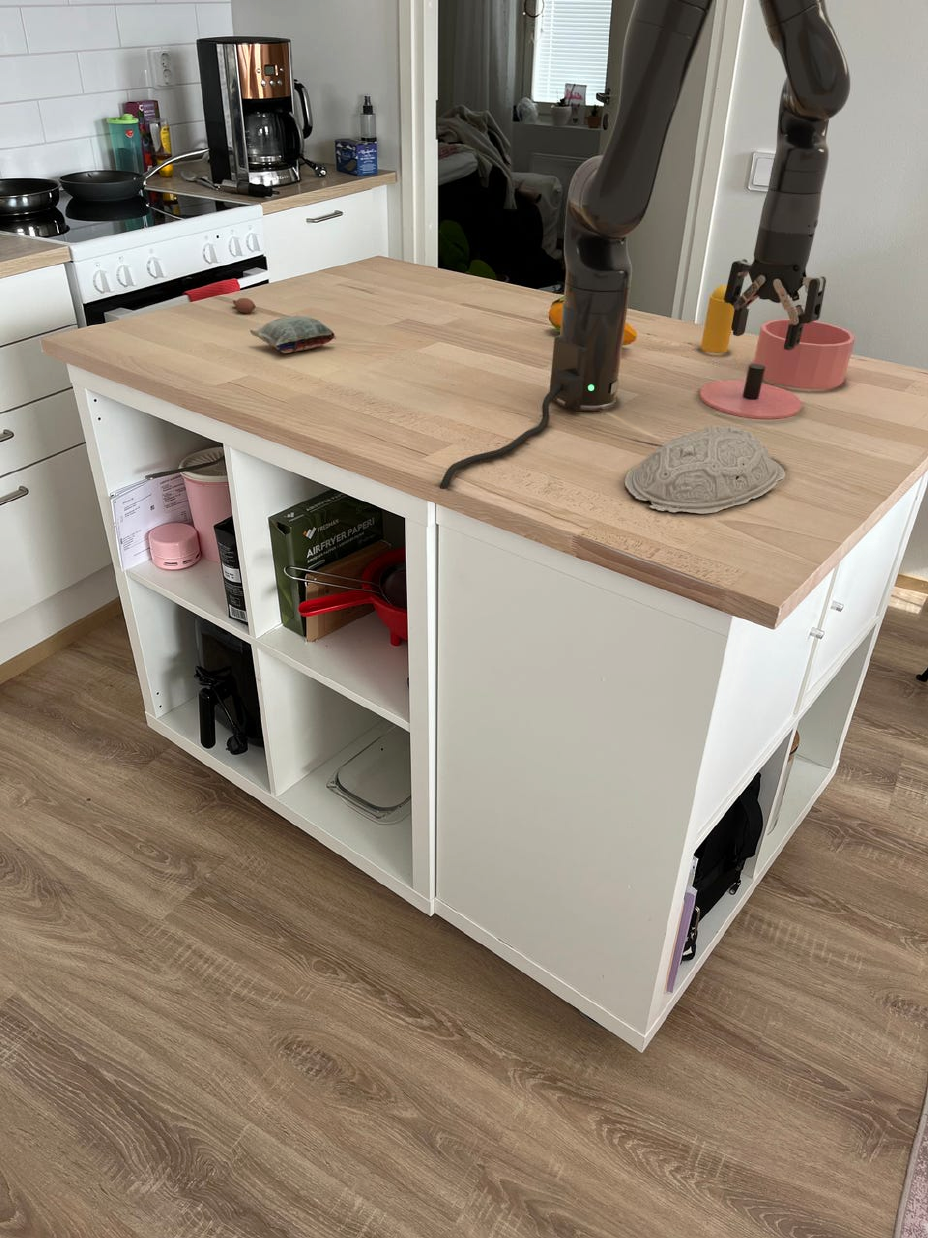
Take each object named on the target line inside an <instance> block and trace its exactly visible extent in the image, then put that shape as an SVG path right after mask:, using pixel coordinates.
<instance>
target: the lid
mask: <svg viewBox="0 0 928 1238" xmlns="http://www.w3.org/2000/svg"><path fill="white" fill-rule="evenodd" d="M764 372H765V366H763V365H760V364H753V363H750V364H749V365H748V369H747V372H746V378H745V380H741V379H732V380H731V379H728V380H718V381H712V382H709V383H707V384H705V385H703V386H702V387H701V388H700V390H699V398H700V399H701V401H702V402H703V403H705V404H706V405H707V406H709V407H711V408H713V409H715V410H716V411H720V412H723V413H726V414H729V415H734V416H737V417H743V418H749V419H760V420H761V419H762V420H763V419H764V420H774V419H782V418H784V419H785V418H788V417H792V416H794V415H797V414H799V412H800V411H801V410H802V405H803V403H802V400H801V399H800V398H799V397H798V396H797V395H796V394H795V393H793V392H791V391H789V390H787V389H784V388H782V387H780V386H776V385H771V384H769V383H764V382H763V380H764V379H763V376H764Z"/></svg>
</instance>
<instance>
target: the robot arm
mask: <svg viewBox="0 0 928 1238" xmlns="http://www.w3.org/2000/svg"><path fill="white" fill-rule="evenodd" d="M715 2H716V0H635V1H634V5H633V8H632V11H631V15H630V17H629V21H628V24H627V28H626V32H625V37H624V42H623V48H622V57H621V58H622V60H621V67H620V70H621V71H620V84H619V85H620V86H619V100H618V107H617V111H616V116H615V119H614V124H613V127H612V130H611V133H610V136H609V139H608V142H607V145H606V147H605V150H604V153H603V155H596V156H593V157H591V158H589V159H586V161H584V162H583V163H582V164H581V165H579V167H578V168H577V170H575V173H574V174H573V176H572V178H571V181H570V184H569V188H568V192H567V199H566V207H565V208H566V209H565V221H564V222H565V224H564V239H563V259H564V264H565V279H564V280H565V281H564V291H563V296H564V300H563V310H562V320H561V331H560V332H559V335H556V336H555V337H554V339H553V349H552V358H551V370H550V371H551V373H550V382H549V392H548V393H547V394H546V395H545V396H544V399H543V401H542V404H541V412H542V413H541V414H542V417H541V418H542V419H541V420H540V423H539V424H538V425H537V426H535V427H532V428H529V429H528V430H526V431H525V432H523V433H521V435H520V436H518V437H517V438H516V439H515V440H513V441H512V442H510V443H508V444H507V445H504V446H502V447H500V448H498V449H494V450H491V451H487V452H486V451H485V452H482V453H478V454H474V455H471V456H468V457H465V458H463V459H461V460H459V461H457V462H455V463H452V464H451V465H450V466H449V467H448V468H447V469H446V471H445V473H444V475H443V476H442V480H441V482H440V484H439V490H440V489H441V490H446V489H448V488H449V486H450V484H451V481H452V479H453V477H454V475H455V474H456V472H458V471H460V470H462V469H465V468H467V467H469V466H472V465H474V464H477V463H481V462H485V461H489V460H493V459H496V458H499V457H502V456H505V455H507V454H509V453H511V452H513V451H515V450H516V449H517V448H519V447H520V446H522V444H524V443H525V442H526V441H528V440H529V439H530V438H532V437H534V436H537V435H539V434H541V433H542V432H544V430H545V429H546V428H547V427H548V424H549V421H550V404H551V402H554V403H556V404H559V406H562V407H564V408H565V409H568V410H570V411H572V412H578V411H584V412H585V411H586V412H594V411H595V412H598V411H604V410H605V408H608V407H611V406H613V405H614V404H616V401H617V392H618V391H619V385H620V379H619V376H620V375H619V374H620V368H621V359H622V352H623V346H624V345H623V338H624V330H625V323H627V322H626V321H627V316H628V315H627V314H628V307H629V299H630V292H631V285H632V279H633V278H632V276H633V266H632V265H633V264H632V261H631V259H630V255H629V249H628V235H631V233H633V232H634V231H635V230H636V229H637V228H638V227H639V226H640V224H642V222H643V220H644V219H645V217H646V215H647V213H648V211H649V209H650V205H651V201H652V198H653V194H654V191H655V186H656V184H657V183H656V182H657V178H658V174H659V170H660V166H661V163H662V158H663V154H664V150H665V146H666V142H667V139H668V136H669V132H670V129H671V126H672V123H673V121H674V118H675V115H676V112H677V110H678V107H679V104H680V101H681V99H682V96H683V93H684V90H685V87H686V84H687V81H688V78H689V75H690V73H691V69H692V67H693V64H694V61H695V58H696V56H697V53H698V52H699V49H700V46H701V43H702V40H703V37H704V34H705V32H706V28H707V26H708V22H709V20H710V16H711V14H712V11H713V8H714V4H715ZM758 3H759V7H760V11H761V13H762V17H763V20H764V21H763V22H764V23H765V24H764V25H765V27H766V31H767V33H768V36H769V38H770V41H771V43H772V45H773V47H774V48H775V49H776V50H777V51H778V52H779V55H780V57H781V60H782V61H781V62H782V64H783V67H784V71H785V74H786V77H785V79H784V82H783V85H782V90H781V93H780V97H779V98H780V99H779V106H778V115H777V117H778V118H777V131H776V149H775V154H774V158H773V161H772V167H771V170H770V171H771V172H770V176H769V177H770V178H769V182H768V188H767V192H766V195H765V198H764V200H763V205H762V209H761V215H760V219H759V224H758V228H757V229H758V230H757V235H756V240H755V246H754V250H753V261H752V263H750V262H748V260H747V259H746V258H743V259H740V260H735V261H733V262H732V263H731V266H730V271H729V274H728V278H727V282H726V285H727V287H726V292H725V296H724V301H725V302H726V303H730V304H731V305H732V306H733V307H734V315H733V321H732V326H731V328H732V329H731V332H732V335H733V336H735V337H740V336H743V335H744V334H745V332H746V328H747V324H748V323H747V322H748V317H749V313H750V309H749V308H748V307H750V305H751V304H752V303H754V301H755V300H756V299H759V300H763V301H764V300H765V301H766V300H769V301H770V302H772V303H775V304H781V306H782V308H783V310H784V311H785V312H786V313H787V315H788V319H790V321H791V324H789V325H788V330H787V334H786V339H785V344H784V349H785V350H788V351H789V350H792V349H794V348H795V346H798V344H799V343H800V338H801V335H802V330H803V326H804V324H805V323H810V322H813V321H818V320H820V317H821V312H822V307H823V301H824V295H825V289H826V284H827V278H826V277H825V276H818V277H817V276H816V277H815V276H808V275H807V265H808V263H809V260H810V257H811V251H812V247H813V242H814V238H815V234H816V229H817V226H818V224H819V223H818V222H819V215H820V209H821V200H822V193H823V192H822V191H823V188H824V183H825V179H826V174H827V170H828V165H829V159H830V150H829V146H828V143H827V135H828V131H829V130H828V129H829V123H830V120H831V119H833V118H834V117H835V116H837V115H838V114H839V113H840V112H841V111H842V109H843V108H844V107H845V105H846V104H847V101H848V99H849V96H850V93H851V75H850V70H849V65H848V62H847V59H846V57H845V53H844V51H843V48H842V46H841V44H840V41H839V38H838V35H837V33H836V30H835V29H834V26H833V25H832V22H831V20H830V17H829V14H828V10H827V4H826V0H758ZM748 275H749V278H750V280H751V284H750V285H749V286H748V287H747V288H746V289H745V290H744V291H743V292H742V290H743V286H744V282H745V278H746V277H747V276H748ZM803 286H804V291H805V293H806V294H807V295H806V300H805V301H806V302H805V306H804V299H803V297H802V294H801V291H800V289H802V287H803Z"/></svg>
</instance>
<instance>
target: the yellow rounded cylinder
mask: <svg viewBox="0 0 928 1238" xmlns="http://www.w3.org/2000/svg"><path fill="white" fill-rule="evenodd" d="M726 287H727V284H722V285H720V286H717V287H716V288H715V289H714V290H713V291H712V294H711V295H709V299H708V305H707V311H706V316H705V322H704V327H703V334H702V339H701V344H700V349H701V350H702V351H704V352H707V353H710V354H711V353H712V354H724V353H727V352H728V348H729V344H730V339H731V333H732V328H731V326H732V321H733V315H734V307H733V306H732V305H731V304H730V303H726V302H725V301H724V296H725V292H726Z"/></svg>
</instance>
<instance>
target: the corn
mask: <svg viewBox="0 0 928 1238" xmlns="http://www.w3.org/2000/svg"><path fill="white" fill-rule="evenodd" d="M563 300H564V295H562V296H561V297H559V298H557V299H556V300H554V301H552V303H551V305H550V309H549V310H548V320H549V322H550V324H551V325H552V326H553V328H555V330H556V331H557V332H559V333H560V331H561V320H562V310H563ZM637 337H638V333H637V331H636V329H635V328H633V327H632V326H631V325H630V324H629V323H628V322H626V323H625V330H624V338H623V345H622V346H629V345H631V344H632V343H634V342H635V341H636V340H637Z"/></svg>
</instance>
